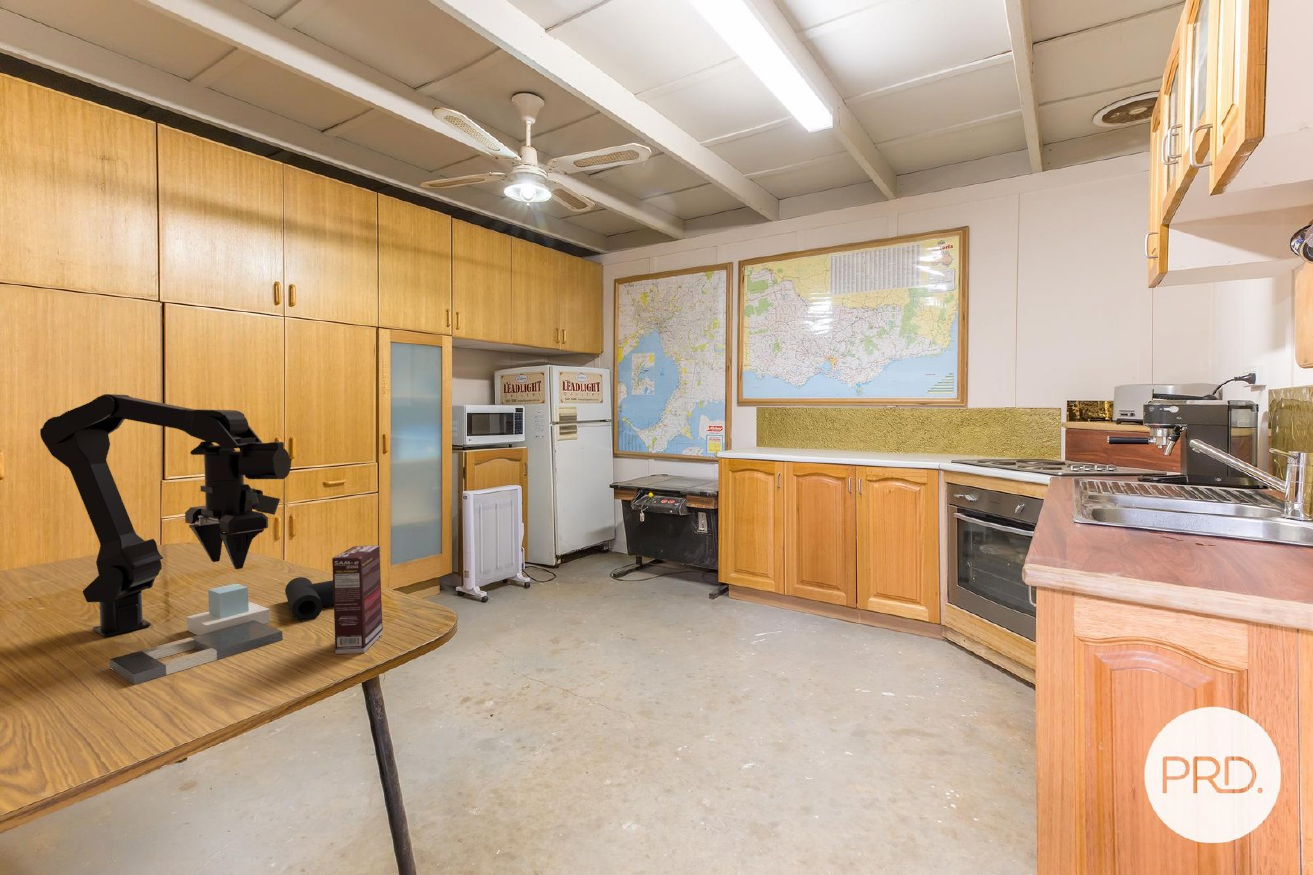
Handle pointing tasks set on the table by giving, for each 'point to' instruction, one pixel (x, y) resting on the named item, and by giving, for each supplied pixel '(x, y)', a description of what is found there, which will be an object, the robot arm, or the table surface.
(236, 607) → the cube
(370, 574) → the supplement box
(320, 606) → the pipe connector
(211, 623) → the stand
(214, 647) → the plate
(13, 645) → the table surface
